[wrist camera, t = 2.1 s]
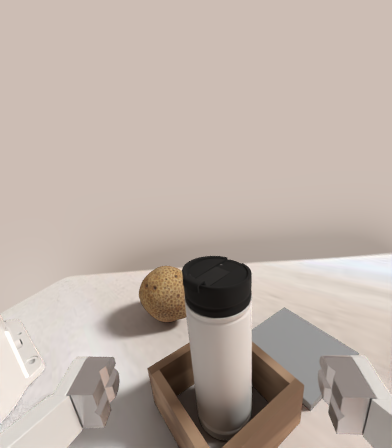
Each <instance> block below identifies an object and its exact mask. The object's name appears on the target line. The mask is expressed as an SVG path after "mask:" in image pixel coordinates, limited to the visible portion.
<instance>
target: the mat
mask: <svg viewBox="0 0 392 448" xmlns="http://www.w3.org/2000/svg"><path fill="white" fill-rule="evenodd" d="M252 342H254V343H255V344H256V345H257V346H258V347H260V348H261V349H262V350H263V351H264V352H265V353H267V354H268V355H269V356H270V357H271V358H273V359H274V360H275V361H276V362H277V363H279V364H280V365H281V366H282V367H283V368H285V369H286V370H287V371H288V372H289V373H291V374H292V375H293V376H294V377H295V378H296V379H298V380H299V381H300V382H301V383H302V384H304V393H303V401H302V403H303V404H304V405H305V406H306V407H307V408H308V409H309V410H310V411H311V410H312V409H313V408H314V406H315V405H316V404H317V403H318V402H319V401H320V400H321V399H322V395H321V392H320V389H319V384H318V371H319V370H320V369H321V366H320V363H319V361H320V357H321V356H325V355H359V353H358V352H356V351H354V350H353V349H351V348H350V347H348V346H346V345H345V344H343V343H341V342H340V341H338V340H337V339H335V338H333V337H332V336H330V335H328V334H327V333H325V332H324V331H322V330H320V329H319V328H317V327H316V326H314V325H312V324H311V323H309V322H307V321H306V320H304V319H303V318H301V317H299V316H298V315H296V314H294V313H293V312H291V311H290V310H288V309H286V308H285V307H284V308H283V309H281V310H280V311H279V312H277V313H276V314H274V315H273V316H271V317H270V318H268V319H267V320H265V321H264V322H263V323H261V324H260V325H258V326H257V327H255V328H254V329H252Z"/></svg>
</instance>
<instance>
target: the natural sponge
mask: <svg viewBox="0 0 392 448" xmlns="http://www.w3.org/2000/svg"><path fill="white" fill-rule="evenodd" d="M184 297H185V294H184V286H183V276H182V271H181V270H179V269H178V268H175V267H171V266H162V267H158V268H156V269H155V270H153V271H152V272H150V273H149V274H148V275H147V276H146V277H145V279H144V280H143V282H142V284H141V286H140V289H139V298H140V301H141V303H142V305H143V307H144V308H145V309H146V311H147V312H148V313H149V314H150V315H151V316H152V317H154V318H155V319H157V320H158V321H162V322H172V321H175V320H177V319H182V318H185V317H187V316H186V307H185V299H184Z"/></svg>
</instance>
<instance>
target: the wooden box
mask: <svg viewBox="0 0 392 448" xmlns="http://www.w3.org/2000/svg"><path fill="white" fill-rule="evenodd" d="M148 373H149V378H150V383H151V387H152V392H153V397H154V402H155V404H156V406H157V408H158V410H159V412H160V413H161V415H162V417H163V419H164V421H165V422H166V424H167V426H168V428H169V430H170V432H171V433H172V435H173V437H174V439H175V441H176V442H177V444H178V446H179V448H210V447H209V446H208V444H207V443H206V441H205V439H204V438H203V436H202V435H201V433H200V432H199V430H198V429H197V427H196V426H195V424H194V422H193V421H192V419H191V418H190V416H189V415H188V413H187V412H186V410H185V409H184V407H183V406H182V404H181V402H180V401H179V399H178V398H177V396H178V395H179V394H181V393H182V392H184V391H185V390H186V389H188V388H189V387H190V386H192V385H193V384H194V375H193V367H192V358H191V350H190V343H188V344H186V345H185V346H183V347H181V348H180V349H178V350H177V351H175V352H173V353H172V354H170V355H168V356H167V357H165V358H164V359H162V360H160V361H159V362H157V363H155V364H154V365H152V366H151V367H149V368H148ZM252 386H253V387H254V388H255V389H256V390H257V391H258V392H259V393H260V394H261V395H262V396H263V397H264V398H265V399H266V400H267V401H268V402H269V404H268V405H267V406H265V407H264V408H263V409H262V410H261V411H260V412H259V413H258V414H257V415H256V416H255V417H254V418H253V419H252V420H251V421H250V422H248V423H247V424H246V425H245V426H244V427H243V428H242V429H241V430H240V431H239V432H238V433H237V434H236V435H235V436H234V437H233V438H231V439H230V440H229V441H228V442H227V443H226V444H225V445H224V446H223V447H222V448H277V447H278V446H279V445H280V444H281V443H282V442H283V440H284V439H285V438H286V437H287V436H288V435H289V434H290V433H291V432H292V431H293V430H294V428H295V427H296V426H297V425H298V424H299V423H300V419H301V410H302V401H303V393H304V384H302V383H301V382H300V381H299V380H298V379H296V378H295V377H294V376H293V375H292V374H291V373H289V372H288V371H287V370H286V369H285V368H283V367H282V366H281V365H280V364H279V363H277V362H276V361H275V360H274V359H273V358H271V357H270V356H269V355H268V354H267V353H265V352H264V351H263V350H262V349H261V348H260V347H258V346H257V345H256V344H255V343H254V342H252Z"/></svg>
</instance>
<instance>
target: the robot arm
mask: <svg viewBox="0 0 392 448" xmlns="http://www.w3.org/2000/svg"><path fill="white" fill-rule="evenodd" d="M319 363H320V366H321V369H320V370H319V371H318V384H319V389H320V392H321V395H322V398H323V400H324V401H325V402H326V403H327V404H328V405H329V411H328V413H329V416H330V418H331V421H332V423H333V426H334V429H335V431H336V434H355V435H363V437H364V438H365V439H366V440H367V441H368V442H369V443H370V444H371V446H372V447H373V448H392V395H391V394H390V392H389V391H388V389H387V388H386V386H385V384H384V383H383V381H382V380H381V378H380V377H379V375H378V374H377V372H376V371H375V369H374V368H373V366H372V365H371V363H370V361H369V360H368V358H367V357H366V356H364V355H325V356H321V357H320V361H319ZM115 364H116V363H115V360H114V358H113V357H76V358H75V359H74V360H73V362H72V363H71V365H70V367H69V368H68V370H67V372H66V373H65V375H64V377H63V378H62V380H61V382H60V383H59V385H58V387H57V388H56V390H55V392H54V393H53V395H51V396H47V397H46V398H45V399H44V400H42V401H41V402H40V403H38V404H37V405H36V406H35V407H33V408H32V409H31V410H30V411H28V412H27V413H26V414H25V415H23V416H22V417H21V418H20V419H18V420H17V421H16V422H14V423H13V424H12V425H11V426H9V427H8V428H7V429H6V430H4V431H3V432H2V433H1V434H0V448H67V447H68V446H69V445H70V444H71V443H72V441H73V440H74V439H75V438H76V437H77V436H78V435H79V433H80V432H81V431H82V430H83V429H82V428H104V427H105V425H106V422H107V419H108V417H109V414H110V411H111V407H110V402H111V401H112V400H113V399H115V397H116V395H117V392H118V387H119V373H118V371H117V370H116V369H115V368H114V366H115ZM44 369H45V363H44V361H43V359H42V357H41V356H40V354H39V352H38V350H37V348H36V347H35V345H34V343H33V341H32V340H31V338H30V336H29V334H28V333H27V331H26V329H25V327H24V326H23V324H22V322H21V321H20V320H19V319H13V320H6V321H3V319H2V316H1V314H0V424H1V422H2V421H3V420H4V419H5V418H6V417H7V416H8V415H9V413H10V412H11V411H12V410H13V408H14V407H15V406H16V404H17V403H18V401H19V400H20V398H21V396H22V395H23V393H24V392H25V390H26V389H27V387H28V386H29V385H30V384H31V383H32V382H33V381H34V380H35V379H36V378H37V377H38V376H39V375H40V374H41V373H42V372H43V370H44Z"/></svg>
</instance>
